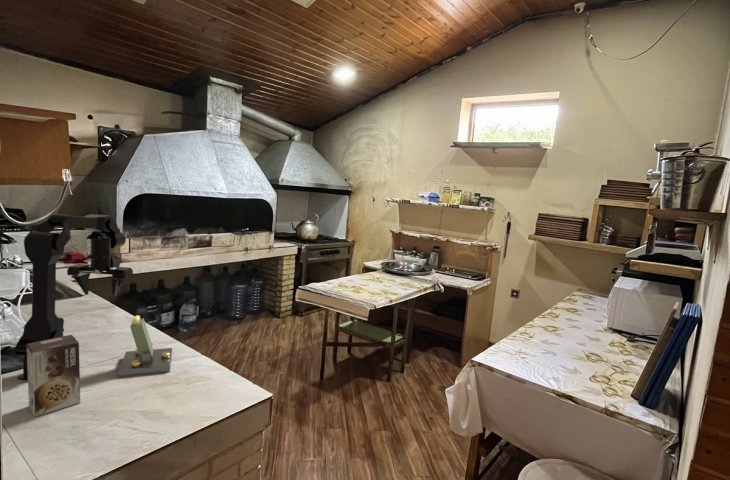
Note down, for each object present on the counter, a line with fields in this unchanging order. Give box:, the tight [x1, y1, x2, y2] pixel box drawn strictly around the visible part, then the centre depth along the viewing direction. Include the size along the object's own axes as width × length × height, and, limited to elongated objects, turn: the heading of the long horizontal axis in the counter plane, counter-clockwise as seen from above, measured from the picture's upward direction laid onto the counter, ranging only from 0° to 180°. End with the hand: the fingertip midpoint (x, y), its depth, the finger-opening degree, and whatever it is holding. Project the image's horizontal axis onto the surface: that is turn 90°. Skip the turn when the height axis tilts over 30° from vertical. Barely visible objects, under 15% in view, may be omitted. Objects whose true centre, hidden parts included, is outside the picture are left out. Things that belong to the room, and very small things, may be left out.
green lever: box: [130, 315, 154, 360], centre depth 116 cm, size 3×5×13 cm, turn 23°
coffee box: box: [27, 334, 81, 418], centre depth 94 cm, size 9×6×16 cm
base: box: [118, 342, 173, 378], centre depth 118 cm, size 13×13×5 cm
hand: (100, 295), depth 134 cm, fingers open, 9 cm apart
